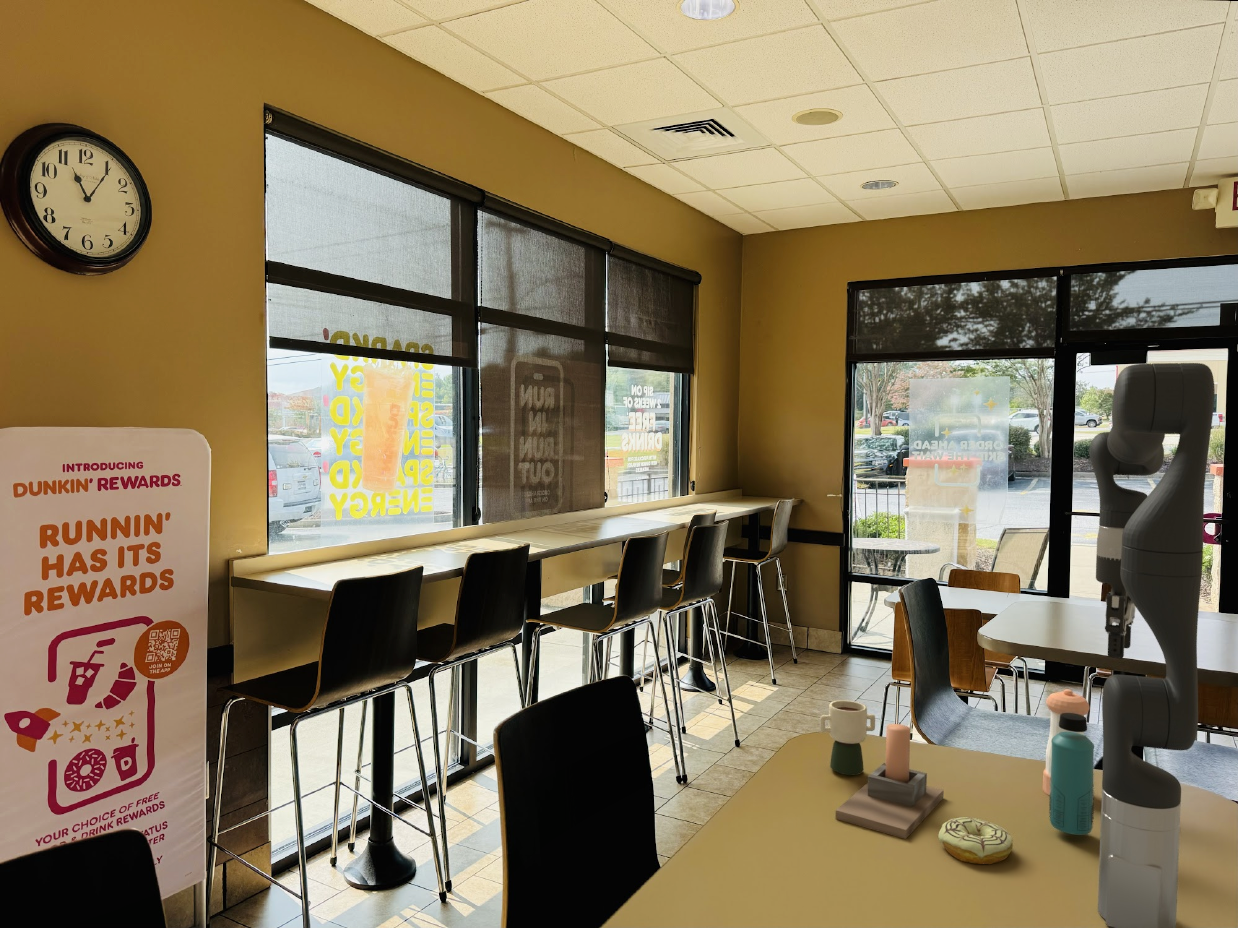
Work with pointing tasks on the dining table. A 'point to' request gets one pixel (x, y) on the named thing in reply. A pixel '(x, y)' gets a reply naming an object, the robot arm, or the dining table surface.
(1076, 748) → the beverage bottle
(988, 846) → the decorated donut
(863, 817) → the holder
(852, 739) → the character mug
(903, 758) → the peg
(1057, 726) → the pepper shaker
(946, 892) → the dining table surface
